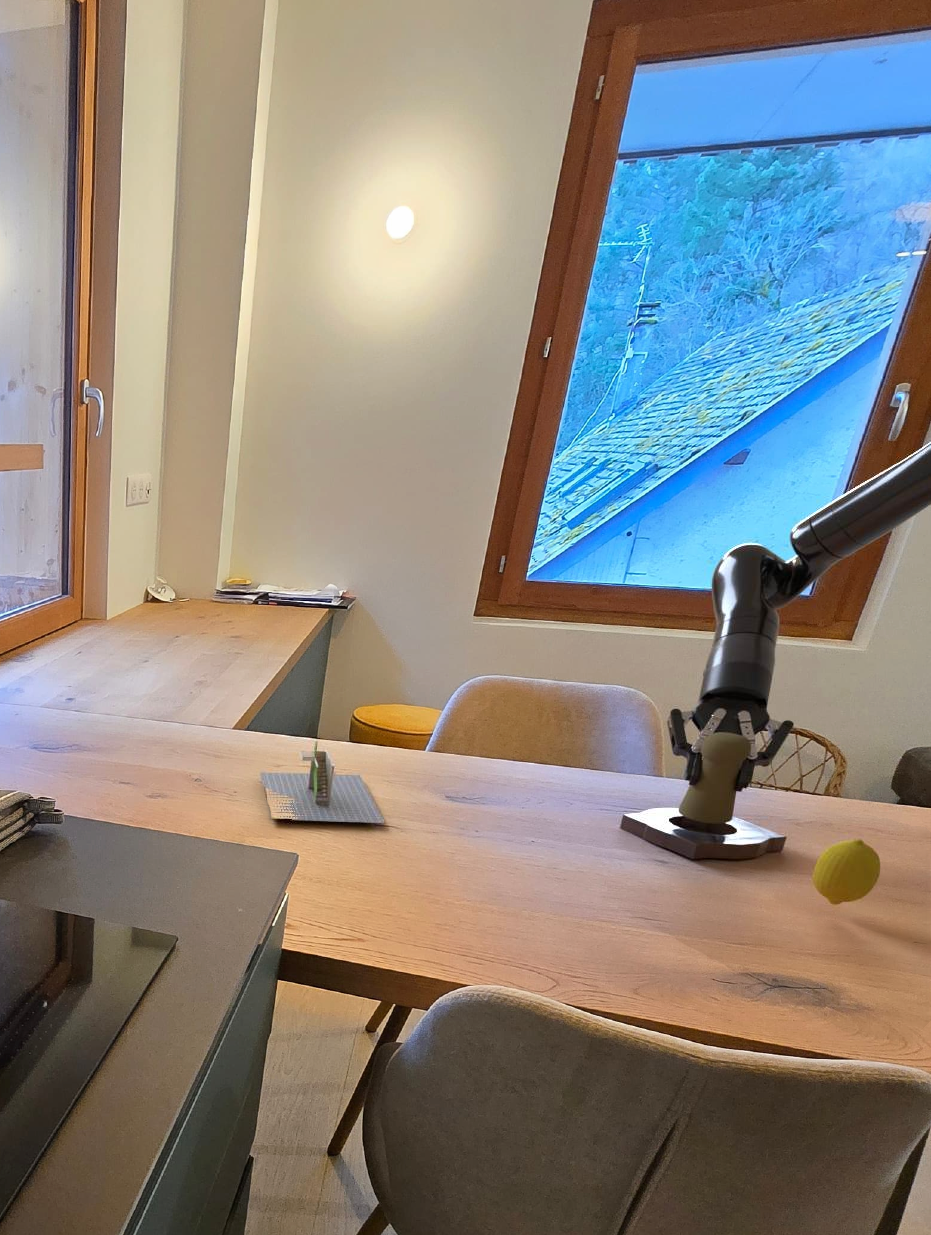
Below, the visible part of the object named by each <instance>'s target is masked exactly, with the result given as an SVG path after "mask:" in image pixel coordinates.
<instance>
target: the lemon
mask: <svg viewBox="0 0 931 1235" xmlns="http://www.w3.org/2000/svg"><path fill="white" fill-rule="evenodd" d="M880 873H881V860H880V856H879V854H878V853H877V851H876V850H875V849H874V848H873V847H872V846H870V845H868V844H867V843H865V842H864V841H863V839H860V838H854V839H851V840H843V841H839V842H836V843H834V844H832V845H830V846H829V847H827V848H826V849H825V850H824V851H823V852H822V854H820V856H819V858H818V860H817V862H816V864H815V866H814V869H813V873H812V881H813V885H814V888H815V889H816V890H817V892H818V893H819V894H820V895H822V896H823V897H824V898H826V899H827V901H828V902H829V903H830V904H831V905H834V906H837V905H840V904H842V903H850V902H856V901H858V900H861V899H863V898H864V897H865V896H867V895H868V894H869V893H870V892H871V891H872V890H873V888H875V886H876V884H877V883H878V880H879V877H880Z"/></svg>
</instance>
